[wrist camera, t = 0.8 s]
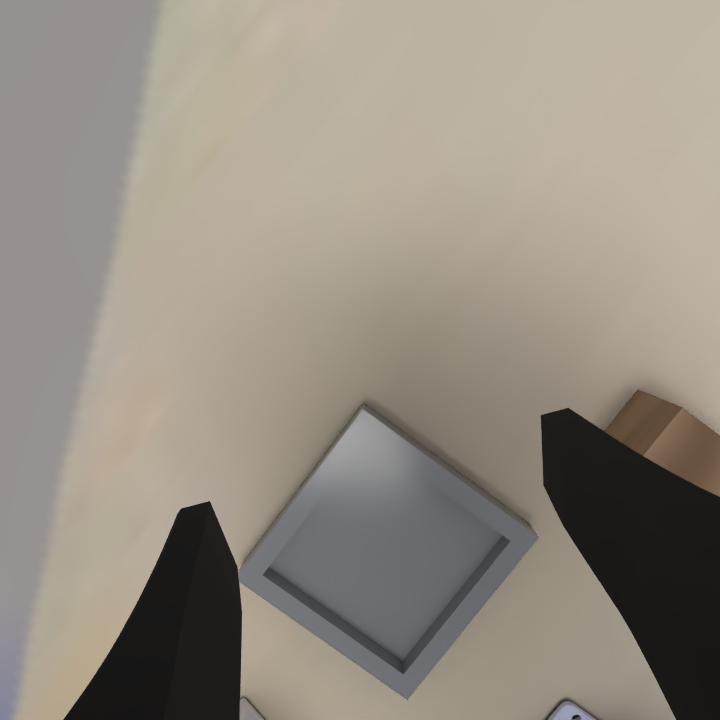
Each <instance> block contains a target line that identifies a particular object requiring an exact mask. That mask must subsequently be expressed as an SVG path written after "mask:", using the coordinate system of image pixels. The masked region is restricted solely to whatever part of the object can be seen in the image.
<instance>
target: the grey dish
mask: <svg viewBox="0 0 720 720" xmlns="http://www.w3.org/2000/svg"><path fill="white" fill-rule="evenodd" d="M537 539H538V536H537V534H536V532H535V531H534V529H533V528H532V526H531V525H530V524H529V523H528V522H526V521H525V520H524V519H522V518H521V517H519V516H518V515H517V514H515V513H514V512H513V511H511V510H510V509H509V508H507V507H506V506H504V505H503V504H502V503H500V502H499V501H498V500H496V499H495V498H494V497H492V496H491V495H489V494H488V493H487V492H485V491H484V490H483V489H481V488H480V487H478V486H477V485H476V484H474V483H473V482H472V481H470V480H469V479H468V478H466V477H465V476H463V475H462V474H461V473H459V472H458V471H457V470H455V469H454V468H452V467H451V466H450V465H448V464H447V463H446V462H444V461H443V460H442V459H440V458H439V457H437V456H436V455H435V454H433V453H432V452H431V451H429V450H428V449H426V448H425V447H424V446H422V445H421V444H420V443H418V442H417V441H416V440H414V439H413V438H411V437H410V436H409V435H407V434H406V433H405V432H403V431H402V430H401V429H399V428H398V427H396V426H395V425H394V424H392V423H391V422H390V421H388V420H387V419H385V418H384V417H383V416H381V415H380V414H379V413H377V412H376V411H375V410H373V409H372V408H370V407H369V406H368V405H366V404H365V403H364V402H363V404H362V405H361V406H360V408H359V409H358V410H357V412H356V413H355V414H354V416H353V417H352V418H351V420H350V421H349V422H348V424H347V425H346V426H345V428H344V429H343V430H342V432H341V433H340V434H339V436H338V437H337V438H336V440H335V441H334V442H333V444H332V445H331V446H330V448H329V449H328V450H327V452H326V453H325V454H324V456H323V457H322V458H321V460H320V461H319V462H318V464H317V465H316V466H315V468H314V469H313V470H312V472H311V473H310V474H309V476H308V477H307V478H306V480H305V481H304V482H303V484H302V485H301V486H300V488H299V489H298V490H297V492H296V493H295V494H294V496H293V497H292V498H291V500H290V501H289V502H288V504H287V505H286V506H285V508H284V509H283V510H282V512H281V513H280V514H279V516H278V517H277V518H276V520H275V521H274V522H273V524H272V525H271V526H270V528H269V529H268V530H267V532H266V533H265V534H264V536H263V537H262V538H261V540H260V541H259V542H258V544H257V545H256V546H255V547H254V549H253V550H252V551H251V553H250V554H249V555H248V557H247V558H246V559H245V561H244V562H243V563H242V565H241V568H240V570H239V572H238V579H239V582H241V583H242V584H243V585H245V586H246V587H248V588H249V589H250V590H252V591H253V592H255V593H256V594H258V595H259V596H260V597H262V598H263V599H265V600H266V601H268V602H269V603H270V604H272V605H273V606H275V607H276V608H278V609H279V610H280V611H282V612H283V613H285V614H286V615H287V616H289V617H290V618H292V619H293V620H295V621H296V622H297V623H299V624H300V625H302V626H303V627H305V628H306V629H307V630H309V631H310V632H312V633H313V634H315V635H316V636H317V637H319V638H320V639H322V640H323V641H324V642H326V643H327V644H329V645H330V646H332V647H333V648H334V649H336V650H337V651H339V652H340V653H342V654H343V655H344V656H346V657H347V658H349V659H350V660H352V661H353V662H354V663H356V664H357V665H359V666H360V667H361V668H363V669H364V670H366V671H367V672H369V673H370V674H371V675H373V676H374V677H376V678H377V679H379V680H380V681H381V682H383V683H384V684H386V685H387V686H389V687H390V688H391V689H393V690H394V691H396V692H397V693H398V694H400V695H401V696H403V697H404V698H406V699H407V700H408V698H409V697H410V696H411V695H412V693H413V692H414V691H415V690H416V688H417V687H418V686H419V685H420V683H421V682H422V681H423V680H424V678H425V677H426V676H427V675H428V674H429V672H430V671H431V670H432V669H433V667H434V666H435V665H436V664H437V662H438V661H439V660H440V659H441V657H442V656H443V655H444V654H445V653H446V651H447V650H448V649H449V648H450V646H451V645H452V644H453V643H454V641H455V640H456V639H457V638H458V636H459V635H460V634H461V633H462V631H463V630H464V629H465V628H466V627H467V625H468V624H469V623H470V622H471V620H472V619H473V618H474V617H475V615H476V614H477V613H478V612H479V610H480V609H481V608H482V607H483V606H484V604H485V603H486V602H487V601H488V599H489V598H490V597H491V596H492V594H493V593H494V592H495V591H496V589H497V588H498V587H499V586H500V584H501V583H502V582H503V581H504V580H505V578H506V577H507V576H508V575H509V573H510V572H511V571H512V570H513V568H514V567H515V566H516V565H517V563H518V562H519V561H520V560H521V558H522V557H523V556H524V555H525V554H526V552H527V551H528V550H529V549H530V547H531V546H532V545H533V544H534V542H535V541H536V540H537Z"/></svg>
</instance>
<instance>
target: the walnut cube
mask: <svg viewBox="0 0 720 720" xmlns="http://www.w3.org/2000/svg"><path fill="white" fill-rule="evenodd" d="M604 432H606V433H607V434H609V435H610V436H612V437H614V438H615V439H617V440H618V441H620V442H621V443H623V444H625V445H626V446H628V447H629V448H631V449H633V450H634V451H636V452H638V453H639V454H641V455H643V456H644V457H646V458H648V459H649V460H651V461H652V462H654V463H656V464H658V465H659V466H661V467H663V468H665V469H666V470H668V471H670V472H672V473H674V474H676V475H678V476H679V477H681V478H683V479H685V480H687V481H689V482H691V483H693V484H694V485H696V486H698V487H700V488H702V489H705V490H707V491H709V492H711V493H713V494H715V495H717V496H719V497H720V436H719V435H718V434H717V433H715V432H714V431H713V430H711V429H710V428H709V427H707V426H706V425H705V424H703V423H702V422H701V421H700V420H698V419H697V418H696V417H694V416H693V415H692V414H690V413H689V412H688V411H686V410H685V409H684V408H682V407H680V406H677V405H675V404H672V403H670V402H667V401H665V400H662V399H660V398H657V397H655V396H652V395H650V394H647V393H645V392H642V391H640V390H637V391H636V393H635V394H634V395H633V396H632V398H631V399H630V400H629V401H628V402H627V404H626V405H625V406H624V407H623V409H622V410H621V411H620V412H619V414H618V415H617V416H616V417H615V419H614V420H613V421H612V422H611V424H610V425H609V426H608V427H607V429H606V430H605V431H604Z"/></svg>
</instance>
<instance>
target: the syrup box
mask: <svg viewBox="0 0 720 720" xmlns="http://www.w3.org/2000/svg"><path fill="white" fill-rule="evenodd" d="M240 720H264V719H263V718H262V716H261V715H260V714H259V713H258V712H257V711H256V710H255V708H254V707H253V706H252V705H251V704H250V703H249V702H248V701H247V700H246V698H242V699H240Z"/></svg>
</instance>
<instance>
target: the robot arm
mask: <svg viewBox="0 0 720 720" xmlns="http://www.w3.org/2000/svg"><path fill="white" fill-rule="evenodd" d="M541 429H542V455H543V481H544V487H545V489H546V491H547V493H548V495H549V498H550V500H551V502H552V504H553V506H554V508H555V510H556V512H557V514H558V516H559V518H560V520H561V522H562V524H563V526H564V528H565V529H566V531H567V532H568V534H569V535H570V537H571V539H572V540H573V542H574V543H575V545H576V546H577V548H578V549H579V551H580V552H581V554H582V556H583V557H584V559H585V560H586V562H587V563H588V565H589V566H590V568H591V569H592V571H593V572H594V574H595V575H596V577H597V578H598V580H599V581H600V583H601V584H602V586H603V587H604V589H605V591H606V592H607V594H608V595H609V597H610V598H611V600H612V601H613V603H614V604H615V606H616V607H617V609H618V610H619V612H620V614H621V615H622V617H623V619H624V620H625V622H626V624H627V625H628V627H629V629H630V630H631V632H632V634H633V636H634V638H635V640H636V641H637V643H638V645H639V647H640V649H641V651H642V653H643V655H644V657H645V659H646V661H647V662H648V664H649V666H650V668H651V670H652V672H653V674H654V676H655V678H656V680H657V682H658V684H659V686H660V688H661V690H662V692H663V694H664V696H665V698H666V700H667V702H668V704H669V706H670V708H671V710H672V712H673V714H674V716H675V718H676V720H720V497H719V496H717V495H715V494H713V493H711V492H709V491H707V490H705V489H702V488H700V487H698V486H696V485H694V484H693V483H691V482H689V481H687V480H685V479H683V478H681V477H679V476H678V475H676V474H674V473H672V472H670V471H668V470H666V469H665V468H663V467H661V466H659V465H658V464H656V463H654V462H652V461H651V460H649V459H648V458H646V457H644V456H643V455H641V454H639V453H638V452H636V451H634V450H633V449H631V448H629V447H628V446H626V445H625V444H623V443H621V442H620V441H618V440H617V439H615V438H614V437H612V436H610V435H609V434H607V433H606V432H604V431H603V430H601V429H600V428H598V427H597V426H595V425H594V424H592V423H591V422H589V421H587V420H586V419H584V418H583V417H581V416H580V415H578V414H577V413H575V412H574V411H572V410H570V409H569V408H566V409H563V410H559V411H555V412H551V413H547V414H543V415H541ZM241 634H242V609H241V598H240V588H239V579H238V569H237V565H236V563H235V560H234V558H233V555H232V553H231V551H230V548H229V546H228V543H227V541H226V539H225V536H224V534H223V531H222V529H221V527H220V524H219V522H218V519H217V517H216V515H215V512H214V510H213V508H212V505H211V503H210V501H209V502H205V503H201V504H197V505H193V506H190V507H186V508H182V509H181V510H180V511H179V513H178V514H177V516H176V519H175V521H174V524H173V526H172V529H171V531H170V533H169V536H168V538H167V540H166V543H165V545H164V547H163V550H162V552H161V554H160V556H159V558H158V561H157V563H156V565H155V567H154V569H153V571H152V573H151V576H150V578H149V580H148V582H147V584H146V586H145V588H144V590H143V592H142V594H141V596H140V598H139V600H138V602H137V604H136V606H135V608H134V609H133V611H132V613H131V615H130V617H129V619H128V620H127V622H126V624H125V626H124V628H123V629H122V631H121V633H120V635H119V637H118V638H117V640H116V642H115V644H114V645H113V647H112V649H111V650H110V652H109V654H108V655H107V657H106V658H105V660H104V662H103V663H102V665H101V666H100V668H99V669H98V671H97V672H96V674H95V675H94V677H93V678H92V680H91V682H90V683H89V685H88V686H87V687H86V689H85V690H84V692H83V693H82V694H81V696H80V697H79V699H78V700H77V701H76V703H75V704H74V706H73V707H72V709H71V710H70V711H69V713H68V714H67V715H66V717H65V718H64V719H63V720H240V678H241ZM574 715H579V716H578V718H576V719H573V718H572V717H573V716H574ZM548 720H596V719H595V718H593V717H592V716H591V715H589V714H588V713H586V712H585V711H584V710H582V709H581V708H579V707H578V706H577V705H575V704H574V703H572V702H570V701H566V702H563V703H562V704H560V705H559V707H558V708H557V709H556V710H555V711H554V713H553V714H552V715H551V716H550V717H549V718H548Z"/></svg>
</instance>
